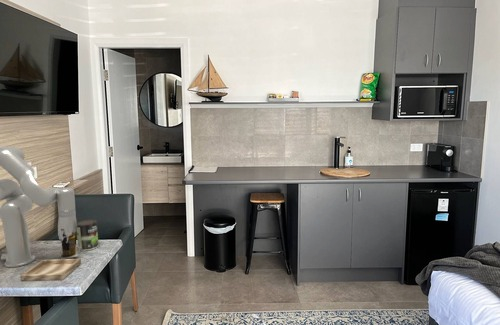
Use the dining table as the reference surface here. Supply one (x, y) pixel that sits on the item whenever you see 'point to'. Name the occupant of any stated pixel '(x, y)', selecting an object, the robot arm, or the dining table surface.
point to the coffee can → (87, 235)
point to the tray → (51, 270)
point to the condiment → (70, 248)
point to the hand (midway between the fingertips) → (69, 247)
